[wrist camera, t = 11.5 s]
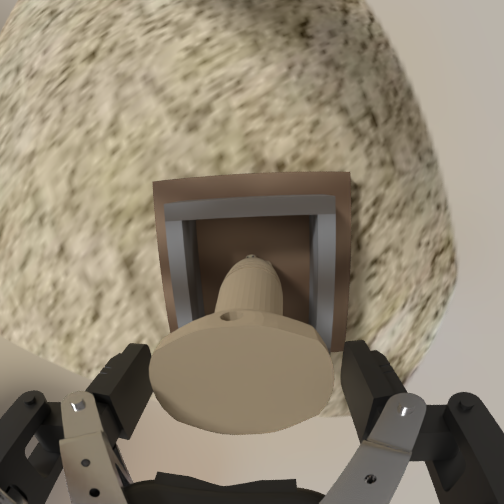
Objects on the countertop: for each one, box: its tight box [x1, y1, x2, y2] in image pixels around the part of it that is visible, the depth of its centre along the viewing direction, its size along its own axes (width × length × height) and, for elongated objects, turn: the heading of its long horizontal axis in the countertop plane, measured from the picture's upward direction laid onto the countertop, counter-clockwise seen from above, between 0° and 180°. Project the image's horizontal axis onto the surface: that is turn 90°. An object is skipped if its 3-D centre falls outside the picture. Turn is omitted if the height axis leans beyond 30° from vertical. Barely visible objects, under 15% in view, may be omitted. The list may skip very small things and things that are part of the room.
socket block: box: [153, 172, 351, 354], centre depth 23 cm, size 16×16×6 cm
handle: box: [149, 254, 334, 435], centre depth 16 cm, size 5×6×15 cm
